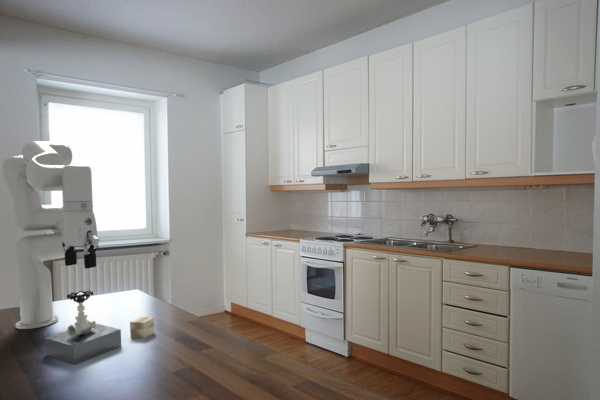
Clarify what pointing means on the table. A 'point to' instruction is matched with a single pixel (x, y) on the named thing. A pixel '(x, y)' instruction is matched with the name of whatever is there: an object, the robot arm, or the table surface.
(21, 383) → the table surface
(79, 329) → the valve
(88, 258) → the robot arm
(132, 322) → the pale wood block
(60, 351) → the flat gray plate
